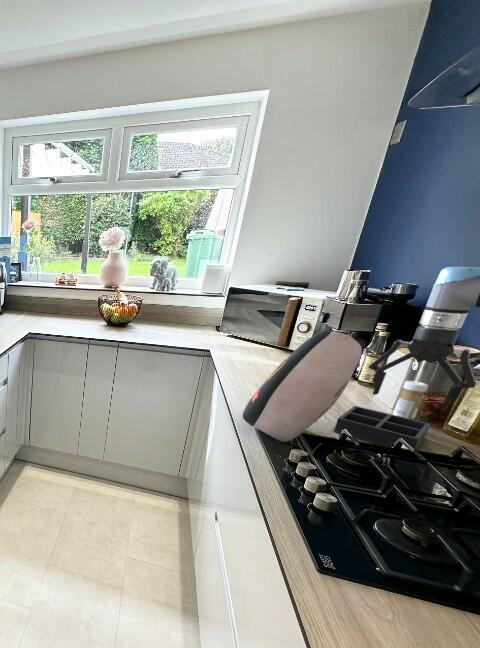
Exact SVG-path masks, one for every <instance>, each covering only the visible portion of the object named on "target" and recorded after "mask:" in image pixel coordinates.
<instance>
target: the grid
mask: <svg viewBox="0 0 480 648" xmlns="http://www.w3.org/2000/svg"><path fill="white" fill-rule="evenodd" d="M430 426H431V423H430V422H425V421H420V420H416V419H414V420H412V419H408V418H404V417H400V416H396V415H393V414H391V413H387V412H383V411H379V410H376V409H375V410H374V409H370V408H365V407H362V406H357V405H354V406H352V407H351V408H350V409H348V410H347V411H346V412H344V413H343V414H342V415H340V416H339V417H338V418H337V420H336V423H335V426H334V430H333V433H336V434H340V433H341V432H342V430H344V429H347V430H348V431H349V432H350V433H351V434H352V435H353V437H354V438H353V437H352V438H353V439H357V440H361V441H364V442H366V443H371V444H374V445H377V446H381V447H385V448H388V447H393V446H394V443H395V442H396V441H397V440H398V439H399V438H403V439H404V440H405V441H407V442H408V443H409V444H410V445H411V446H412V447H413V448H414V449H416V450H417V449H418V448H419V447H420V446H421V444H422V442H423V441H424V440H425V438H426V435H427V433H428V431H429V429H430ZM340 435H341V434H340Z"/></svg>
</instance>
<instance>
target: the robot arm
mask: <svg viewBox="0 0 480 648" xmlns="http://www.w3.org/2000/svg"><path fill="white" fill-rule="evenodd" d="M471 308H480V267H474V266H447V267H444V268H442V269H441V270H440V272H439V274H438V276H437V279H436V281H435V283H434V284H433V286H432V289H431V292H430V295H429V298H428V299H427V303H426V305H425V308H424V310H423V312H422V315H421V318H420V320H419V321H418V322H419V326H417V328H416V329H415V333H414V334H413V338H412V339H411V341H410V342H408V341H403V340H402V339H397V340H395V341H394V342H393V344H392V346H391V348H389V349H388V350H387V351H385V352H384V353H383V354H382V355H380V356H379V357H378V358H376V360H374V361H373V362H372V363H371V364H369V366H368V369H369V370H373V371H374V376H373V379H372V383H375V386H374V389H373V392H372V395H375V396H377V395H378V394H380V390H381V388H382V385H383V382H384V380H385V377H386V375H387V372H386V371H387V370H388V369H391V368H393V367H395V366H397V365H399V364H401V363H403V362H405V361H408V360H411V359H415V360H416V361H421V362H422V361H425V362H427V363H438V364H439V366H441V368H442V369H443V370H444V372H445V373H446V375H447V376H448V377H449V378H450V380H451V381H452V383H453V384H452V385H451V386H450V388H449V390H448V392H447V395H446V397H445V399H444V402H443V404H442V406H441V408H440V410H441V411H446V410H447V409H448V406H449V405H450V403H451V400H452V399H453V400H457V399H459V397H460V396H461V394H462V392H463V389H473V388H476V386H477V381H476V377H475V374H474V371H473V368H472V364H471V361H470V354H471V350H470V349H468V348H465V349H457V348H455V347H454V346H455V343H456V341H457V339H458V337H459V334H460V330H459V329H461V328H462V327H463V325H464V323H465V321H466V318H467V316H468V314H469V311H470V309H471ZM405 347H406V349H408V351H409V352H408V353H406V354H405V355H403V356H400V357H399V358H396V359H394V360H392V361H390V362H388V363H385V364H383V365H382V366H380V364H381V363H383V362H384V361H385V360H387V359H388V358H389V357H390V356H392V355H393V354H394V353H395V352H397V350H401V349H403V348H405ZM452 354H454V355H455V357H456V358H458V359H459V361H460V365H461V368H462V371H463V375H464V378H465V381H463V379H462V377H461V376H460V375H459V374H458V372H457V371H456V369H455V368H454V366H453V365H452V364H451V362H450V361H449V359H448V357H449V356H451V355H452Z"/></svg>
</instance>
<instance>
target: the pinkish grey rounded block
mask: <svg viewBox="0 0 480 648" xmlns="http://www.w3.org/2000/svg"><path fill="white" fill-rule="evenodd" d="M362 353H363V348H362V345H361V344H360V343H359V342H358V341H357V340H356V339H354V337H352V336H350V335H349V334H346V333H342V332H339V331H335V330H320V331H318V332H316V333H315V334H313V335H312V336H311V337H309V338H308V339H307V340H305V341H303V343H301V344H300V345H299V346H298V347H297V348H296V349H295V350H294V351H293V352H292V353H290V354H289V355H288V356H287V357H286V358H285V359H284V360H283V361H282V362H281V363H280V364H279V365H278V366H277V367H276V368H275V369H274V371H272V373H271V374H269V376H268V377H266V380H264V382H263V383H262V384H261V385H260V387H259V388H258V389H257V390H256V392H255V393H254V394H253V396H252V397H251V398H250V399H249V401H248V403H247V404H246V406H245V408H244V409H243V411H242V420H243V421H244V422H245V423H246V424H248V425H249V426H251V427H252V428H255V429H257V430H259V431H261V432H263V433H265V434H266V435H268V436H269V437H272V438H274V439H275V440H277V441H279V442H281V443H288V442H291V441H292V440H293V439H295V438H297V437H298V436H299V435H301V434H302V433H304V432H305V431H306V430H308V429H309V428H310V427H311V426H312V425H314V424H315V423H316V422H317V421H318V420H319V419H321V418H322V417H323V416H324V415H325V414H326V413H327V412H328V411H329V410H330V409H331V408H333V406H334V405H335V404H336V402H337V401H338V400H339V399H340V397H341V396H342V394H343V393H344V391H345V390H346V388H347V386H348V385H349V382H350V380H351V379H352V376H353V375H354V372H355V370H356V369H357V366H358V364H359V361H360V359H361V357H362Z"/></svg>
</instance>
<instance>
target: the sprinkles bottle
mask: <svg viewBox="0 0 480 648" xmlns="http://www.w3.org/2000/svg"><path fill="white" fill-rule="evenodd" d="M428 388H429V384H428V383H425V382H422V381H415V380H405V381H404V382H403V385H402V390H401V393H400V395H399V397H398V400H397V403H396V405H395V408H394V410H393V413H392V415H396V416H400V417H404V418H408V419H412V420H415V419H416V418H417V414H418V411H419V409H420V406H421V403H422V401H423V398H424V395H425V393H426V392H428Z"/></svg>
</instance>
